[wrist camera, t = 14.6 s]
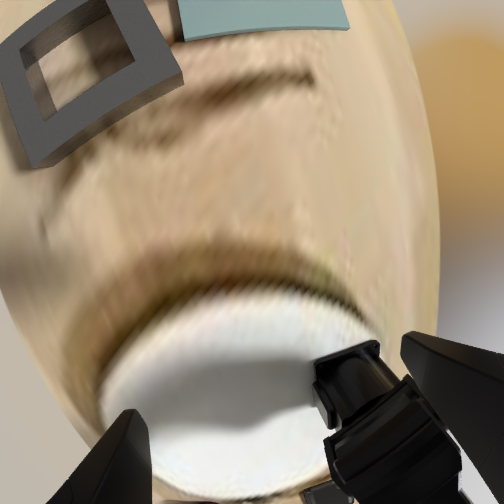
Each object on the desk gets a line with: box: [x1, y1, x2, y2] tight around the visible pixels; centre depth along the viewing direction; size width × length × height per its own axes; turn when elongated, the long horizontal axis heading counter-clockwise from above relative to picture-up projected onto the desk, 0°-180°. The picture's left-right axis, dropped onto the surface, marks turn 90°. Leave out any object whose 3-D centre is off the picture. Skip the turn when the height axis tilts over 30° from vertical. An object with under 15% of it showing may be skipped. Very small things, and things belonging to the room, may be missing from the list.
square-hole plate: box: [0, 0, 184, 168], centre depth 14 cm, size 10×10×3 cm
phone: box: [304, 480, 354, 504], centre depth 35 cm, size 8×1×15 cm
